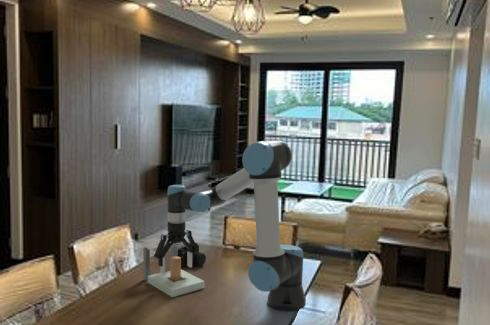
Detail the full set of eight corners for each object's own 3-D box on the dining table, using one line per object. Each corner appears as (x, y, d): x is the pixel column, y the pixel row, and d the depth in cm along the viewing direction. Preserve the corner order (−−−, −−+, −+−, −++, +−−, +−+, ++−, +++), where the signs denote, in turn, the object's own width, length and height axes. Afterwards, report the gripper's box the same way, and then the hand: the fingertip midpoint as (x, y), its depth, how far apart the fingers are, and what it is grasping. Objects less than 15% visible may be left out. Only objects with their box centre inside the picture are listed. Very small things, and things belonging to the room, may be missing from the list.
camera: (190, 271, 210) (191, 250, 209) (174, 266, 216) (174, 246, 215) (209, 263, 221) (210, 244, 220) (193, 259, 227) (194, 240, 226)
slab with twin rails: (183, 277, 202) (184, 242, 200) (152, 285, 192) (152, 248, 190) (174, 272, 208) (174, 238, 206) (143, 279, 198) (143, 244, 196)
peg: (182, 285, 192) (182, 258, 191) (173, 287, 190) (174, 260, 188) (177, 282, 196) (177, 255, 194) (168, 284, 193) (168, 257, 192)
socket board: (204, 288, 190) (204, 281, 190) (172, 297, 180) (172, 290, 179) (179, 274, 205) (179, 268, 205) (147, 282, 195) (147, 275, 194)
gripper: (195, 215, 200) (195, 261, 203) (145, 223, 184) (146, 273, 186) (205, 219, 195) (205, 266, 197) (154, 227, 179) (154, 278, 181)
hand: (176, 269), depth 192 cm, fingers open, 13 cm apart
